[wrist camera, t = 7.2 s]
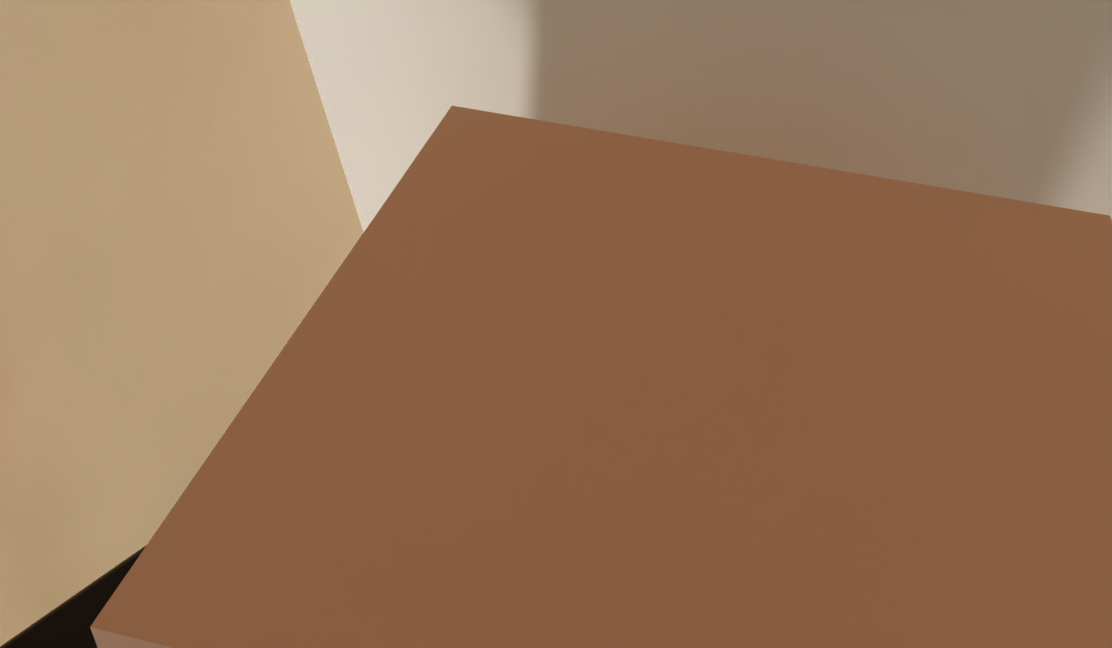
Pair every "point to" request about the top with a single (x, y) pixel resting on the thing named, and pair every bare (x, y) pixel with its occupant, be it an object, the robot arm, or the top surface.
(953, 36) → the base block
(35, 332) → the top surface
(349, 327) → the terracotta cube
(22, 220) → the top surface
